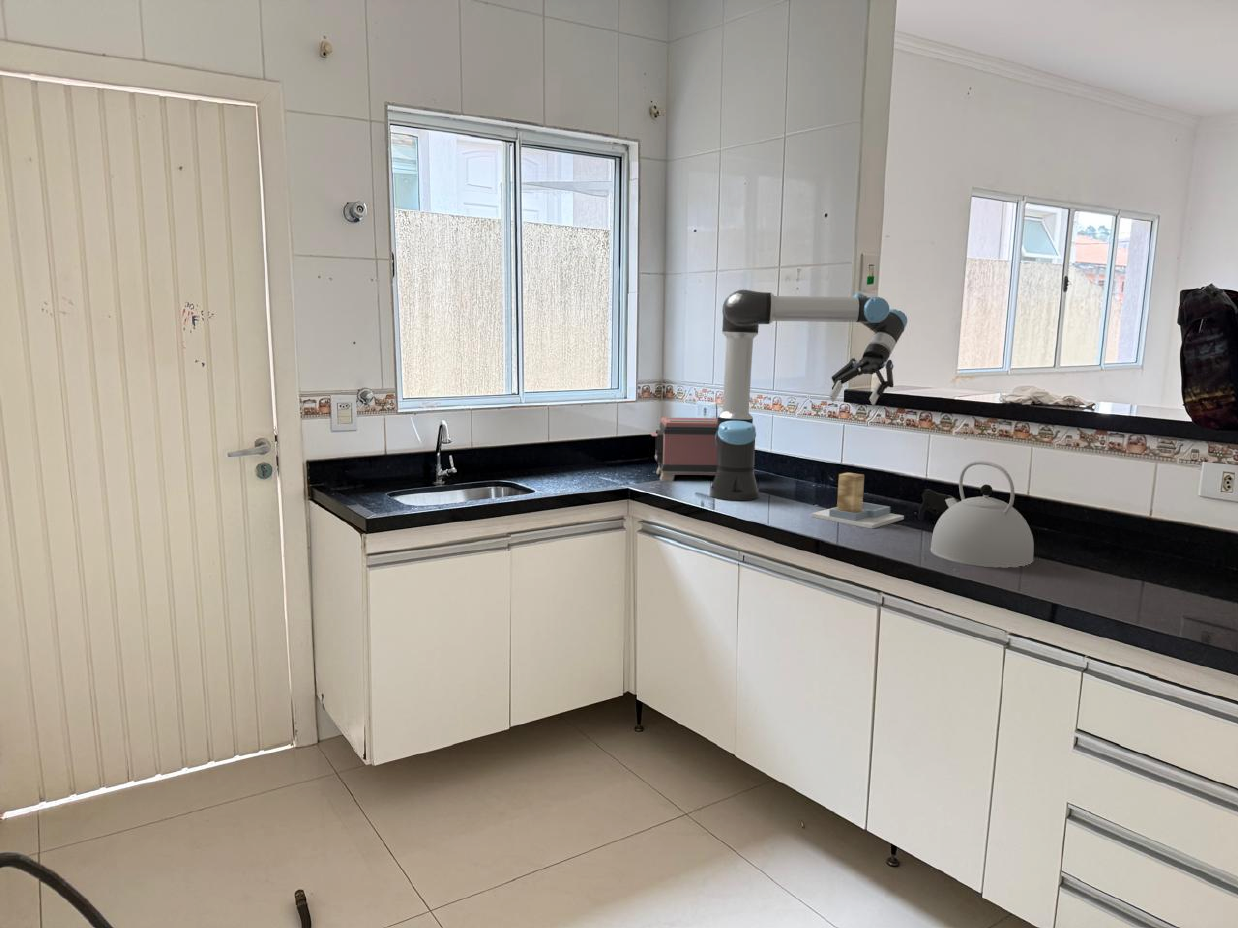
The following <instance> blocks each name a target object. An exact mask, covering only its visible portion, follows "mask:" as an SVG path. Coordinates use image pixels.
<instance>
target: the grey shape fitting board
mask: <svg viewBox="0 0 1238 928" xmlns="http://www.w3.org/2000/svg"><path fill="white" fill-rule="evenodd" d="M810 517H811V518H816V519H820V520H826V521H831V522H836V523H840V524H841V523H842V524H846V525H851V526H856V527H860V528H861V527H862V528H866V529H867V528H868V529H875V528H879V527H882V526H886V525H889V524H893V523H896V522H899V521H903V520H904V519H905V515H903V514H902V515H901V514H897V513H896V514H895V513H891V506H888V505H881V504H875V503H870V502H864V501H863V504H862V511H860V512H856V513H851V512H846V511H840V510H837V506H836V507H831V508H827V509H823V510H819V511H816V512H811V514H810Z"/></svg>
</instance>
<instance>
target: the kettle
mask: <svg viewBox="0 0 1238 928" xmlns="http://www.w3.org/2000/svg"><path fill="white" fill-rule="evenodd" d="M977 465H982V466H983V465H984V466H990V467H993V468H996V469H997V470H999V471H1000V472H1001V473H1003V474H1004V476H1005V478H1006V479H1007V481H1008V483H1009V489H1010V498H1009V503H1008V502H1005V501H1004V500H1000V499H997V498H995V497H989V496H990V495H992V493H993V488H992V486H991V485H989V484H983V485H982V486H981V487H980V493H981V494H982V496H974V497H973V496H972V497H967V498H966V497H965V494H964V488H963V487H964V486H963V485H964V484H963V483H964V477H965V474H966V472H967V470H968V469H970V468H971V467H973V466H977ZM958 488H959V495H960V499H961V500H959V501H960V502H957V501H956V500H955V499H956V498H955V497H954V498H955V499H954V498H949V499H946V500H945V501H946V503H947V505H948V507H949V509H947V510H946V511H945V512H944V513H943V512H942V514H941V515H940V517H939V518H938V520H937V521H936V524H935V526H934V528H933V532H932V537H931V544H930V552H931V553H932V554H933V555H935V556H937V557H938V558H940V559H944V560H947V561H952V562H954V563H958V564H962V565H963V564H965V565H971V566H977V567H984V568H998V567H1001V569H1003V568H1004V569H1005V568H1006V569H1008V567H1013V568H1020V567H1019V566H1023V567H1026V566H1025V565H1027V566H1029V565H1028V564H1030V565H1032V564H1033V563H1034V547H1035V546H1034V545H1035V543H1034V537H1033V533H1032V530H1031V528H1030V526H1029V524H1028V522H1027V520H1026V519H1025V518H1024V517H1023V515H1022V514H1021V513H1020V512H1019V511H1018V510H1017V509H1016V508H1014V507H1013V505H1014V502H1015V485H1014V482H1013V479H1012V477H1011V475H1010V474H1009V473H1008V471H1007V470H1006V469H1005V468H1004V467H1003V466H1001V465H999V464H997V463H994V462H990V461H987V460H986V461H984V460H976V461H971V462H970V463H968V464H966V465H965V466H964V467H963V469H962V471H961V473H960V476H959V481H958ZM1032 562H1033V563H1032ZM1031 563H1032V564H1031Z"/></svg>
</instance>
